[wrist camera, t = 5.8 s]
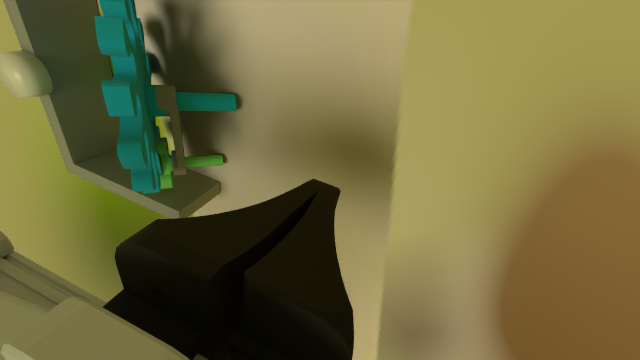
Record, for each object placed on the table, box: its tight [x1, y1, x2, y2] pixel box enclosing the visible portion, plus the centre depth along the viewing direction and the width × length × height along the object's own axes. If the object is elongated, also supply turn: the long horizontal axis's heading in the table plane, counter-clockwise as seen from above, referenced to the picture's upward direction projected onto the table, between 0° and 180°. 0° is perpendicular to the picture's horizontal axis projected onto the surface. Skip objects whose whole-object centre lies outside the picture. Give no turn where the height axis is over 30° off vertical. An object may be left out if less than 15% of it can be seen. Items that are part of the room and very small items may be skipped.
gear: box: [94, 0, 236, 194], centre depth 15 cm, size 11×6×10 cm
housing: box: [0, 0, 220, 219], centre depth 16 cm, size 14×11×5 cm
